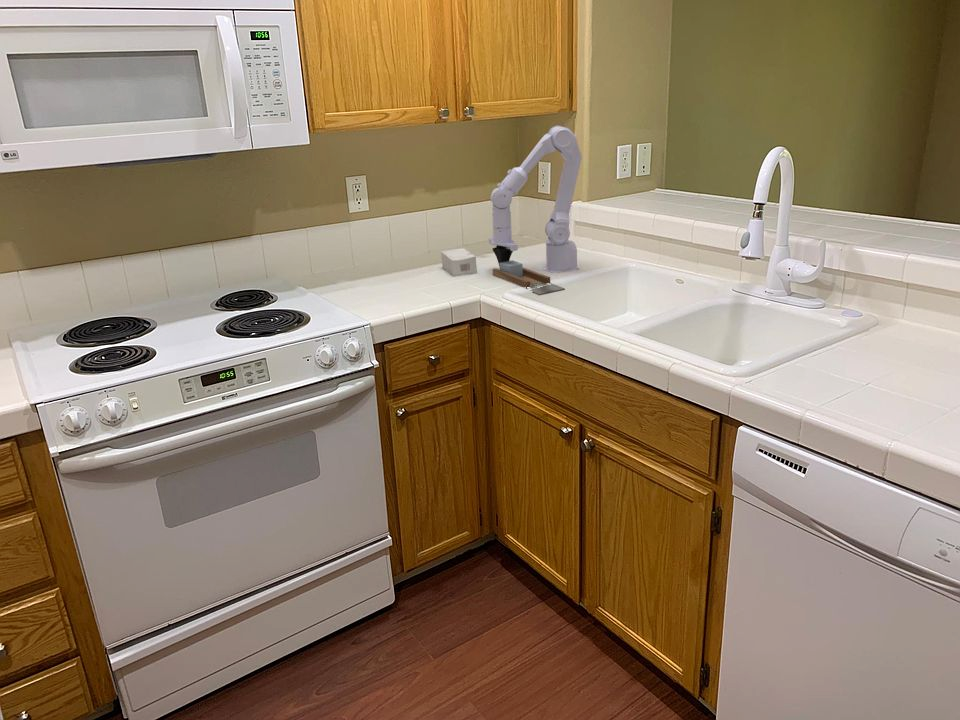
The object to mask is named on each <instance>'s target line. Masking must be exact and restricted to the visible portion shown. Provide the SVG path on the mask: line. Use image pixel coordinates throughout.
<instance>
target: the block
mask: <svg viewBox="0 0 960 720" xmlns="http://www.w3.org/2000/svg"><path fill="white" fill-rule="evenodd" d="M499 265H500V267H499V270H501V271H504V272H506V273H509V274H512V275H514V276H517V277H521V276H523V268H524V266H523V263H521V262H518V261H515V260H511V259H510V260H509V261H506V262H501V263H498V266H499Z"/></svg>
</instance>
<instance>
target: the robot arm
mask: <svg viewBox="0 0 960 720" xmlns="http://www.w3.org/2000/svg"><path fill="white" fill-rule="evenodd" d="M577 139H578V138H577V136H576V135H575V134H574V132H573V131H572V130H571V129H570V128H568V127H565V126H564V127H563V126H562V125H555V126H552V127H551V128H550V129H549V130H548V132H547V133H545V134H544V135H543V136H542V137H541V139H540V140H539V141H538V142H537V143H536V145H535V146H534V148H533V149H532V150H531V151H530V153H529V154H528V156H527V157H526V158H525V159H524V160H523V162H522V163H521V164H520V165H519V166H518V167H515V166H514V167H513V168H512V169H509V170H508V171H506V173H507V175H506V176H504V177H505V178H504V179H503V180H502V181H501V182H498V183H497V185H496V186H498V187H497V188H496V187H495V188H494V189H493V190H492V192H491V194H490V197H489V199H490V202H491V203H492V210H491V211H492V214H491V215H492V232H493V233H492V234H493V236H492V237H488V244H489V245H491V246H495V247H492V251H493V253H494V254H495V257H496V259H497V263H498V266H499V268H500V265H499V263H501V262H506V261H511V256H512V254H513V252H516V251H519V250H518V249H519V248H518V243H515V241H513V239H512V213H511V204H512V202H513V201H512V200H513V197H515V196H516V195H517V194H518V192H519V191H520V190H521V188H523V186H524V185H525V184H526V183H527V182H528V174H529V173H530V172H531V171H532V170H533V168H534V167H535V166H536V165H537V164H539V162H540V161H541V159H543V157H545V155H547V154H550V153H553V152H554V153H555V152H556V150H557V151H558V152H559V154H560V155H561V157H562V159H563V165H562V170H561V174H560V179H559V183H558V188H557V193H556V198H555V203H554V206H553V211H552V213H551V214H550V218H549V220H548V222H547V223H546V224H545V228H544V232H545V235H546V236H547V239H546V241H545V251H546V252H545V255H546V257H545V258H546V261H545V262H546V266H543V267H541V270H544V271H548V272H550V273H552V274H558V273H562V272H568V271H569V272H570V271H573V270H579V267H578V249H577V245H576V243H575V242H574V241H573V240H569V239H570V236H571V232H570V223H571V222H570V211H571V207H572V203H573V198H574V194H575V189H576V185H577V180H578V175H579V171H580V167H581V161H582V152H581V150H580V147H579V143H578V141H577Z"/></svg>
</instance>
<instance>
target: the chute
mask: <svg viewBox="0 0 960 720" xmlns="http://www.w3.org/2000/svg"><path fill="white" fill-rule="evenodd" d="M492 276H493V277H495V278H499V279H501V280H504V281H506V282H509V283H511V284H514V285H516V286H519V287H522V288H524V287H526V288H525V289H527V287H530V285H533V284H539V283H544V284H545V283H550V284H551V285H547V286H543V287H540V288H537V287H536V288H535V287H534V288H535V289H532V290H529V291H530V292H531V293H533V294H535V295H537V296H543V295H547V294H551V293H556V292H560V291H565V290H566V288H565V287H562V286H560V285H556V284H553V283H551V276H549V275H548V276H547V275H545V274H542V273H539V272H536V271H533V270H531V269H528V268H527V267H526V268H525V267H523V276H521V277H517V276H514V275H512V274H509V273H506V272H504V271H501V270H500V269H498V268H492ZM533 286H534V285H533Z"/></svg>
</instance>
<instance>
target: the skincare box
mask: <svg viewBox="0 0 960 720" xmlns="http://www.w3.org/2000/svg"><path fill="white" fill-rule="evenodd" d="M440 253H441V267H442V269H444V270H445V271H447V272H448V273H449V274H450V275H451V276H453V277H460V276H466V275H474V274H478V266H477V258H476V257H477V256H476V255H474V254H473V253H471V252H470V251H469V250H467V249H465V248H464V247H463V248H462V247H461V248H454V249H448V250H447V249H446V250H442V251H441V252H440Z"/></svg>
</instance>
